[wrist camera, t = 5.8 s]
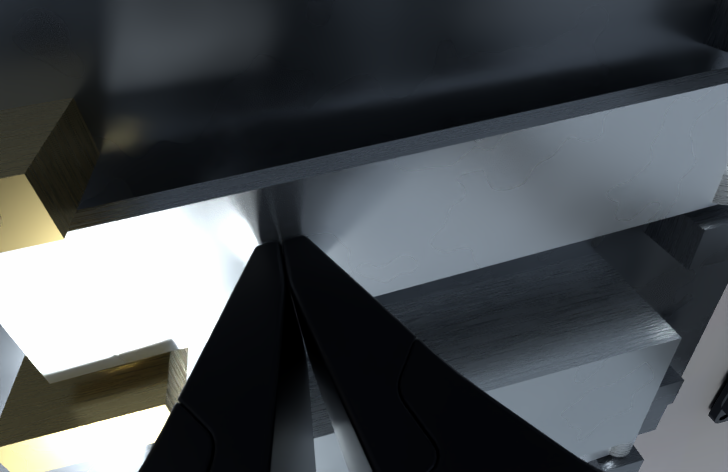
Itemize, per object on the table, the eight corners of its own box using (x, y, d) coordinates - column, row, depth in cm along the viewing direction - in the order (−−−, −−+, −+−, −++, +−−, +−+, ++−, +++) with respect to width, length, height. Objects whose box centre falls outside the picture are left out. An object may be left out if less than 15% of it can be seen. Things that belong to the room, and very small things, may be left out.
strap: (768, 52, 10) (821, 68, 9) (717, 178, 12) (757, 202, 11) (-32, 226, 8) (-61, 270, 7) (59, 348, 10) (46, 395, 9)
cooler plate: (831, -146, 10) (1208, -156, 6) (624, 389, 22) (711, 502, 18) (-386, 27, 8) (-1035, 198, 4) (117, 533, 19) (91, 702, 15)
